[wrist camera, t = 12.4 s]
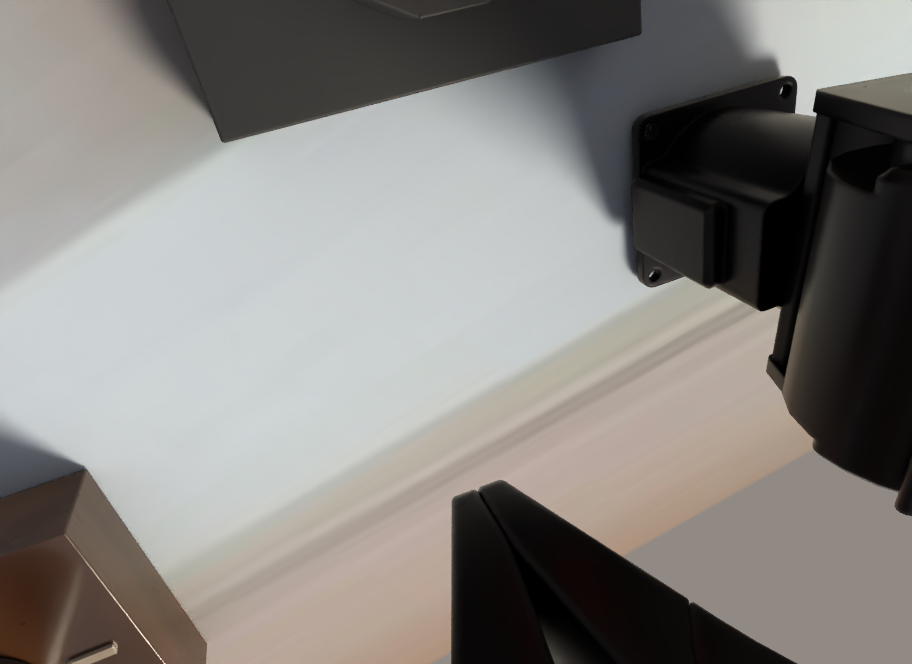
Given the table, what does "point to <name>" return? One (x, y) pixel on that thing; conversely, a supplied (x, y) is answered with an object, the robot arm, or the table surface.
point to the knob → (10, 661)
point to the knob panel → (83, 584)
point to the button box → (371, 49)
